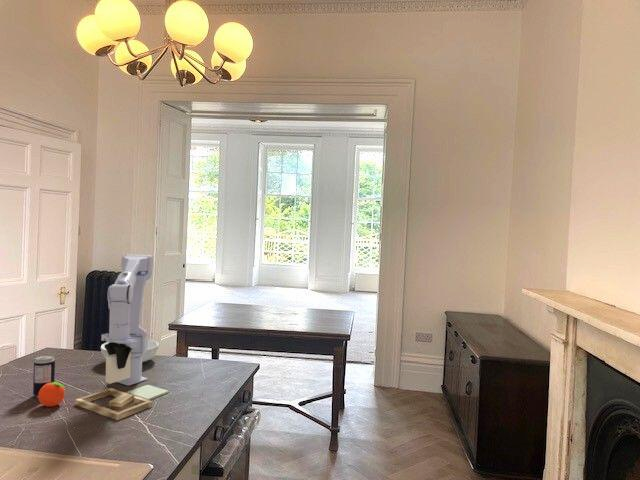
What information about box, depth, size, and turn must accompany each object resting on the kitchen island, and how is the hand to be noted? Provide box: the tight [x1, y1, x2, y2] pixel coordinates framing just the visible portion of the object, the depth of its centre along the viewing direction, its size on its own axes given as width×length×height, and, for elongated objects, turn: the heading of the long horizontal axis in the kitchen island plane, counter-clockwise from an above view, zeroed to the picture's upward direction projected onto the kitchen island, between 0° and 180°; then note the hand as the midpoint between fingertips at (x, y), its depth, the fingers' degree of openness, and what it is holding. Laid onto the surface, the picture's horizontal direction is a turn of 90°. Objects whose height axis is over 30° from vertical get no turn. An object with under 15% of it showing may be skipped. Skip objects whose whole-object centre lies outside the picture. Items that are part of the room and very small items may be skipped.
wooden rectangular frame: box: [75, 387, 153, 421], centre depth 140 cm, size 19×12×2 cm, turn 61°
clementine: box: [38, 381, 67, 407], centre depth 138 cm, size 8×7×7 cm
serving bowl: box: [100, 338, 159, 363], centre depth 182 cm, size 21×21×7 cm
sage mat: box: [125, 384, 170, 401], centre depth 150 cm, size 10×8×1 cm
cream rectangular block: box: [105, 352, 131, 385], centre depth 143 cm, size 2×7×8 cm, turn 150°
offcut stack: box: [108, 394, 136, 412], centre depth 137 cm, size 4×7×4 cm, turn 171°
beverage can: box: [32, 354, 56, 399], centre depth 145 cm, size 6×6×12 cm
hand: (118, 367), depth 143 cm, fingers closed on cream rectangular block, 2 cm apart
